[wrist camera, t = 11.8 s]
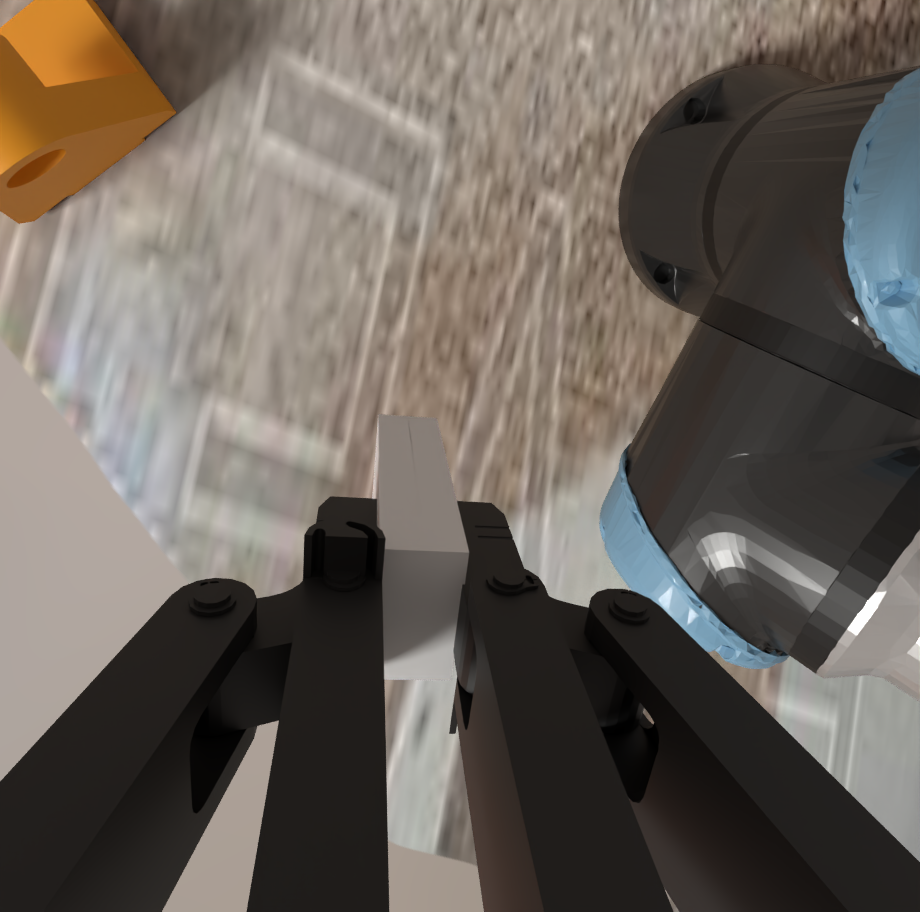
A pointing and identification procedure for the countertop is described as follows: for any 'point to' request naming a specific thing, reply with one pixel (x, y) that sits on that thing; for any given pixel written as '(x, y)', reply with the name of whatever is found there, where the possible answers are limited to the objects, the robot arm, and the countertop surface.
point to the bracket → (67, 103)
